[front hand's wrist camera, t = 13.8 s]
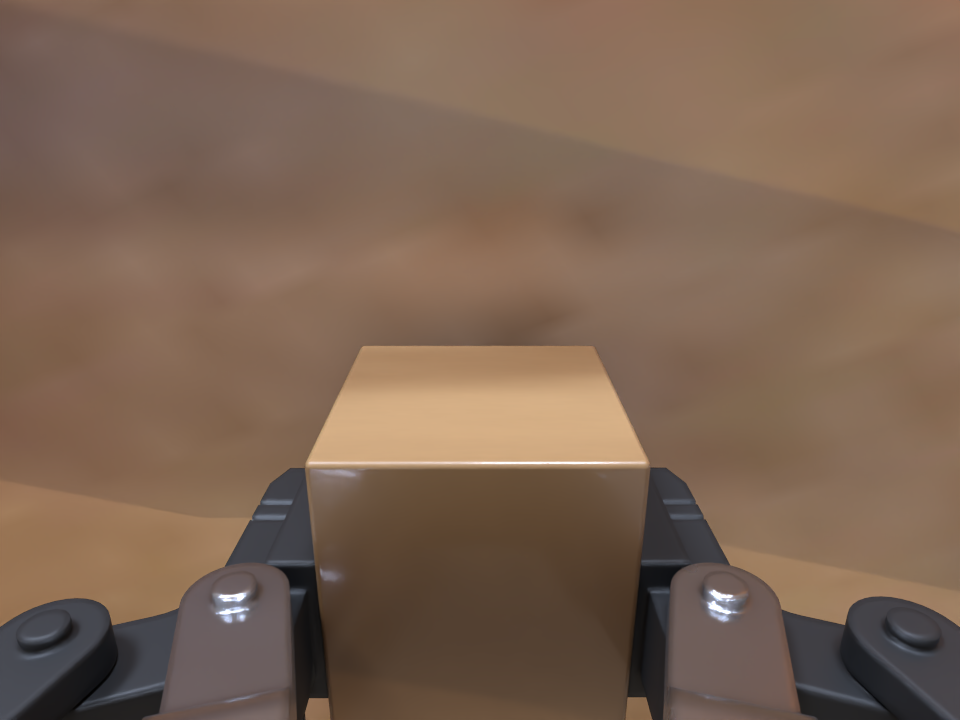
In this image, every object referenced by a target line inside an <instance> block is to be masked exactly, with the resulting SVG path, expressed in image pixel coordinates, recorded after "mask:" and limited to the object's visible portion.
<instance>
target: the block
mask: <svg viewBox="0 0 960 720" xmlns="http://www.w3.org/2000/svg"><path fill="white" fill-rule="evenodd" d="M650 467H651V466H650V463H649V460H648V458H647V456H646V454H645V452H644V450H643V448H642V446H641V444H640V441H639V439H638V437H637V435H636V433H635V431H634V429H633V427H632V425H631V422H630V420H629V418H628V416H627V414H626V412H625V410H624V408H623V405H622V403H621V401H620V399H619V397H618V395H617V393H616V391H615V389H614V386H613V384H612V382H611V380H610V378H609V376H608V374H607V372H606V370H605V367H604V365H603V363H602V361H601V359H600V357H599V355H598V353H597V350H596V348H595V347H593V346H364V347H361V349H360V351H359V353H358V355H357V357H356V360H355V362H354V364H353V366H352V368H351V370H350V372H349V374H348V376H347V378H346V380H345V382H344V384H343V387H342V389H341V391H340V393H339V395H338V397H337V399H336V401H335V403H334V405H333V407H332V409H331V412H330V414H329V416H328V418H327V420H326V422H325V424H324V426H323V428H322V430H321V432H320V434H319V436H318V439H317V441H316V443H315V445H314V447H313V449H312V451H311V453H310V455H309V457H308V459H307V461H306V464H305V474H306V483H307V493H308V503H309V513H310V522H311V532H312V542H313V552H314V562H315V571H316V581H317V591H318V601H319V610H320V620H321V630H322V640H323V650H324V659H325V669H326V679H327V689H328V698H329V708H330V718H331V720H625V718H626V708H627V698H628V688H629V678H630V668H631V658H632V648H633V638H634V628H635V618H636V608H637V598H638V588H639V578H640V568H641V558H642V548H643V538H644V528H645V518H646V508H647V497H648V487H649V477H650Z"/></svg>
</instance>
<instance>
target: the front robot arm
mask: <svg viewBox="0 0 960 720" xmlns="http://www.w3.org/2000/svg"><path fill="white" fill-rule="evenodd" d="M260 502H261V503H260V505H258V507H257V509H256V511H255V512H254V514H253V516H252V520H250V522H249V523H248V525H247V527H246V529H245V531H244V532H243V534H242V536H241V538H240V540H239V542H238V543H237V545H236V547H235V549H234V551H233V553H232V554H231V556H230V558H229V560H228V562H227V563H226V565H225V567H223V568H220V569H218V570H215V571H213V572H211V573H209V574H207V575H205V576H203V577H202V578H201V579H199V580H198V581H196V582H195V583H194V584H193V585H192V586H191V587H190V588H189V589H188V590H187V591H186V592H185V594H184V596H183V597H182V599H181V602H180V606H179V608H178V609H176V610H173V611H170V612H168V613H165V614H161V615H157V616H153V617H149V618H144V619H140V620H135V621H131V622H126V623H122V624H117V625H113V626H112V623H111V619H110V615H109V612H108V610H107V609H106V607H105V606H104V605H102V604H101V603H99V602H96V601H94V600H89V599H79V598H75V599H64V600H59V601H54V602H50V603H47V604H43V605H41V606H38V607H35V608H33V609H30V610H28V611H26V612H24V613H22V614H20V615H18V616H16V617H15V618H13V619H12V620H10V621H8V622H7V623H5V624H4V625H3V626H1V627H0V720H306V719H305V710H306V707H307V703H308V700H309V698H328V689H327V679H326V669H325V659H324V650H323V640H322V630H321V620H320V610H319V601H318V591H317V581H316V571H315V562H314V552H313V542H312V532H311V522H310V513H309V503H308V493H307V483H306V474H305V468H290V469H289V470H288V471H286V472H285V473H284V474H282V475H281V476H280V477H278V478H277V479H276V480H274V481H273V482H272V483H270V485H269V487H268V489H267V491H266V492H265V494H264V496H263V498H262V500H261V501H260ZM628 697H646V698H647V702H648V705H649V709H650V712H651V716H652V719H653V720H960V627H959V626H957V625H956V624H955V623H953V622H952V621H950V620H949V619H947V618H946V617H944V616H943V615H941V614H939V613H937V612H935V611H933V610H931V609H929V608H927V607H925V606H922V605H919V604H917V603H914V602H911V601H907V600H903V599H898V598H892V597H869V598H864V599H862V600H859V601H857V602H856V603H854V604H853V605H852V606H851V607H850V609H849V612H848V615H847V619H846V623H845V625H842V624H837V623H833V622H828V621H824V620H819V619H815V618H810V617H805V616H801V615H797V614H793V613H790V612H787V611H784V610H781V606H780V602H779V599H778V597H777V596H776V594H775V592H774V591H773V590H772V589H771V588H770V587H769V586H768V585H767V584H766V583H765V582H764V581H762V580H761V579H759V578H758V577H757V576H755V575H753V574H751V573H749V572H747V571H745V570H742V569H740V568H737V567H734V566H730V564H729V562H728V560H727V559H726V557H725V555H724V553H723V551H722V549H721V547H720V546H719V544H718V542H717V540H716V538H715V536H714V534H713V533H712V531H711V529H710V527H709V525H708V523H707V521H706V520H704V519H703V514H702V512H701V510H700V508H699V507H698V505H696V503H695V499H694V497H693V495H692V494H691V492H690V490H689V488H688V486H687V484H686V483H685V482H684V481H682V480H681V479H680V478H678V477H677V476H676V475H675V474H673V473H672V472H671V471H669V470H668V469H667V468H650V477H649V487H648V497H647V508H646V518H645V528H644V538H643V548H642V558H641V568H640V578H639V588H638V598H637V608H636V618H635V628H634V638H633V648H632V658H631V668H630V678H629V688H628Z"/></svg>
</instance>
